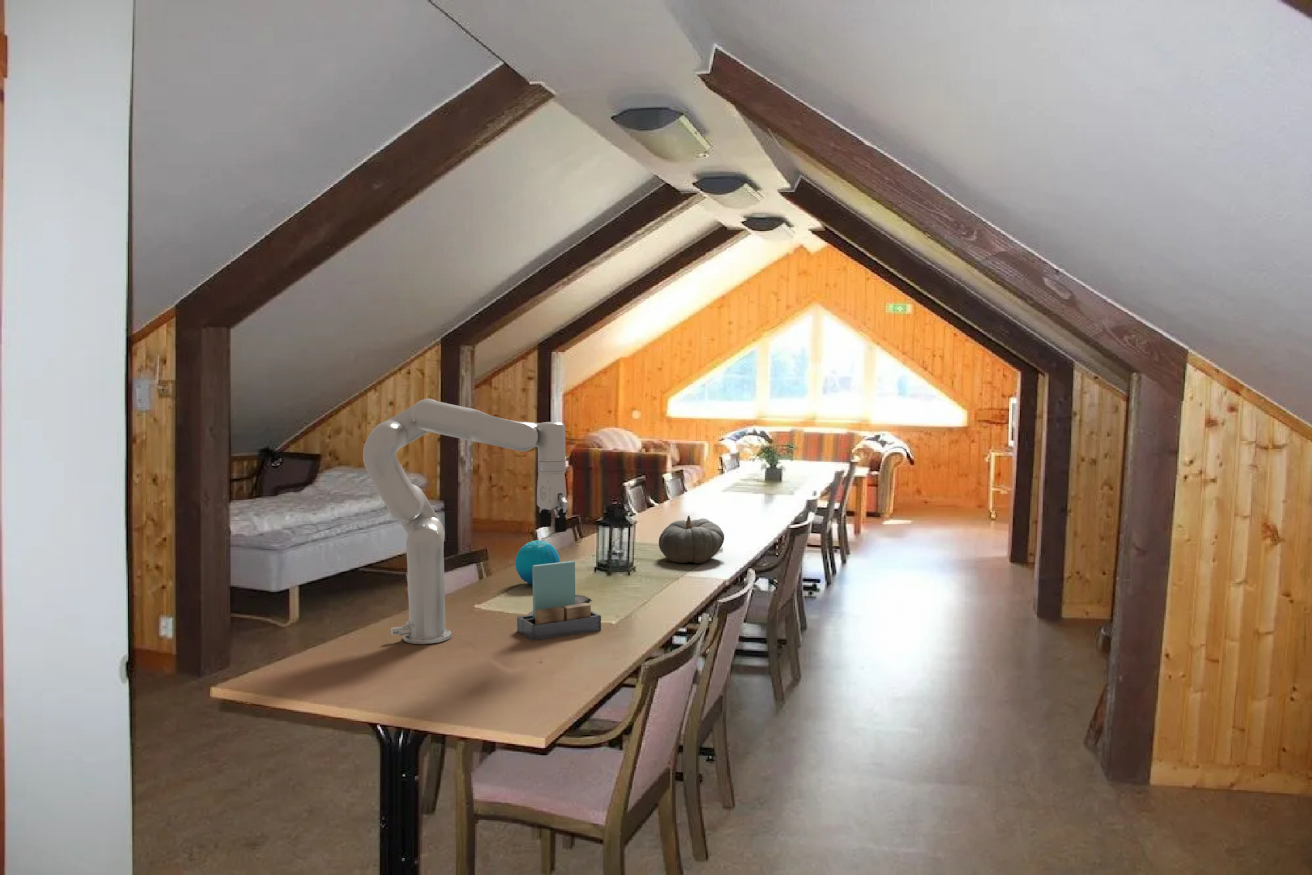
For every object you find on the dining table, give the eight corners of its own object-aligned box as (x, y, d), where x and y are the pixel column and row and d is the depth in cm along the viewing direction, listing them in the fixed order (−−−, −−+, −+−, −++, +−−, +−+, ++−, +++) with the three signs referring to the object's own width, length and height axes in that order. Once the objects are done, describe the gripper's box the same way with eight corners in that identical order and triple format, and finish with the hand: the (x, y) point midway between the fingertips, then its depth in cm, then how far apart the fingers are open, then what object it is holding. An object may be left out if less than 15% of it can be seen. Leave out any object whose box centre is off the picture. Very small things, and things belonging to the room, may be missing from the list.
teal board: (535, 631, 256) (534, 566, 255) (533, 630, 257) (532, 565, 256) (575, 625, 262) (574, 561, 261) (573, 624, 263) (572, 560, 262)
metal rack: (533, 644, 247) (532, 625, 247) (517, 634, 257) (517, 616, 256) (601, 633, 257) (600, 615, 257) (583, 624, 267) (583, 607, 266)
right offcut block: (567, 634, 253) (567, 608, 253) (562, 631, 256) (562, 606, 256) (590, 630, 257) (590, 605, 257) (586, 627, 260) (585, 602, 259)
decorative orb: (542, 591, 307) (541, 546, 306) (506, 586, 315) (505, 542, 314) (569, 582, 320) (568, 539, 319) (534, 578, 328) (533, 535, 327)
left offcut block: (540, 638, 249) (539, 612, 249) (535, 635, 252) (535, 609, 252) (564, 634, 253) (563, 608, 252) (559, 631, 256) (559, 606, 255)
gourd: (721, 546, 371) (718, 504, 367) (730, 569, 347) (726, 525, 343) (658, 553, 370) (654, 511, 366) (663, 577, 346) (658, 533, 342)
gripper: (526, 465, 262) (527, 526, 264) (552, 470, 248) (553, 535, 249) (551, 464, 266) (552, 523, 267) (578, 469, 251) (579, 532, 253)
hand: (553, 529), depth 258 cm, fingers open, 9 cm apart
